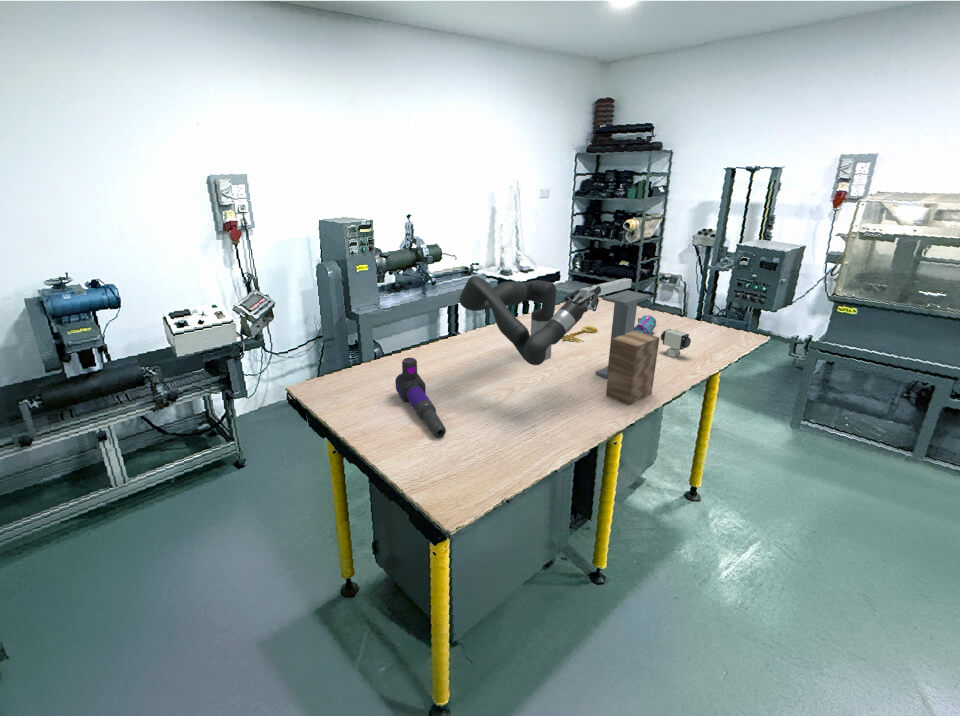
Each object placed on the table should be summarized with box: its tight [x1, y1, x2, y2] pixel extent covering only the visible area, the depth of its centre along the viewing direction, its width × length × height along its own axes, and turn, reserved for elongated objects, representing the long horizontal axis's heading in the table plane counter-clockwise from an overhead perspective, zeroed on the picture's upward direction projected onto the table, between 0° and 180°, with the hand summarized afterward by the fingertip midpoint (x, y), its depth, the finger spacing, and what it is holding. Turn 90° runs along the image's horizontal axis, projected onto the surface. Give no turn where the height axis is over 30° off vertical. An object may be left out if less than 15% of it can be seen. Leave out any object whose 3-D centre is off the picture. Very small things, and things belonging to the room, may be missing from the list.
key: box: [560, 325, 598, 344], centre depth 241 cm, size 11×25×2 cm, turn 135°
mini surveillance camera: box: [660, 328, 692, 359], centre depth 214 cm, size 6×12×12 cm, turn 38°
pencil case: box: [634, 314, 657, 335], centre depth 236 cm, size 21×9×10 cm, turn 153°
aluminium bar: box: [579, 277, 633, 299], centre depth 176 cm, size 26×3×3 cm, turn 130°
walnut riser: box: [605, 331, 661, 406], centre depth 177 cm, size 14×10×22 cm
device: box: [394, 357, 447, 438], centre depth 165 cm, size 9×36×15 cm, turn 25°
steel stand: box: [595, 290, 651, 380], centre depth 192 cm, size 16×10×32 cm, turn 130°
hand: (595, 287), depth 172 cm, fingers closed on aluminium bar, 3 cm apart
